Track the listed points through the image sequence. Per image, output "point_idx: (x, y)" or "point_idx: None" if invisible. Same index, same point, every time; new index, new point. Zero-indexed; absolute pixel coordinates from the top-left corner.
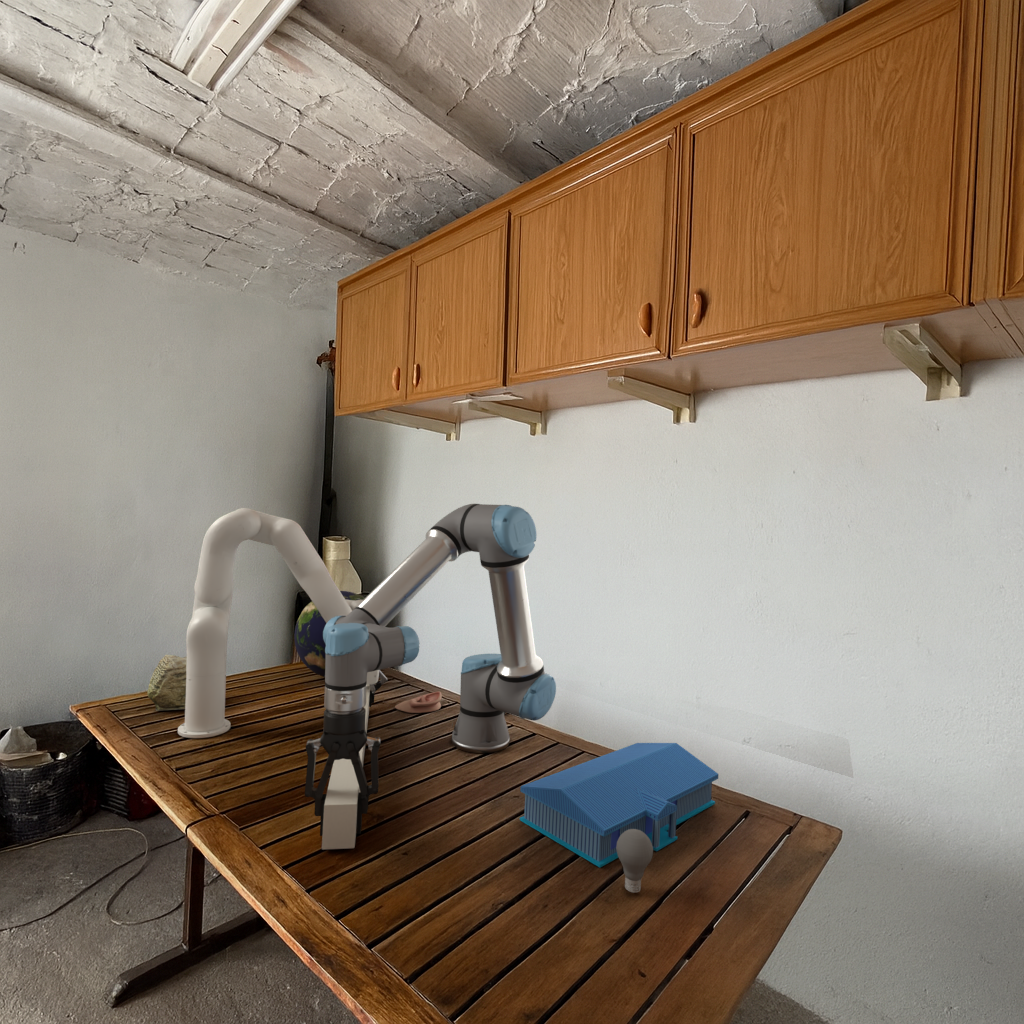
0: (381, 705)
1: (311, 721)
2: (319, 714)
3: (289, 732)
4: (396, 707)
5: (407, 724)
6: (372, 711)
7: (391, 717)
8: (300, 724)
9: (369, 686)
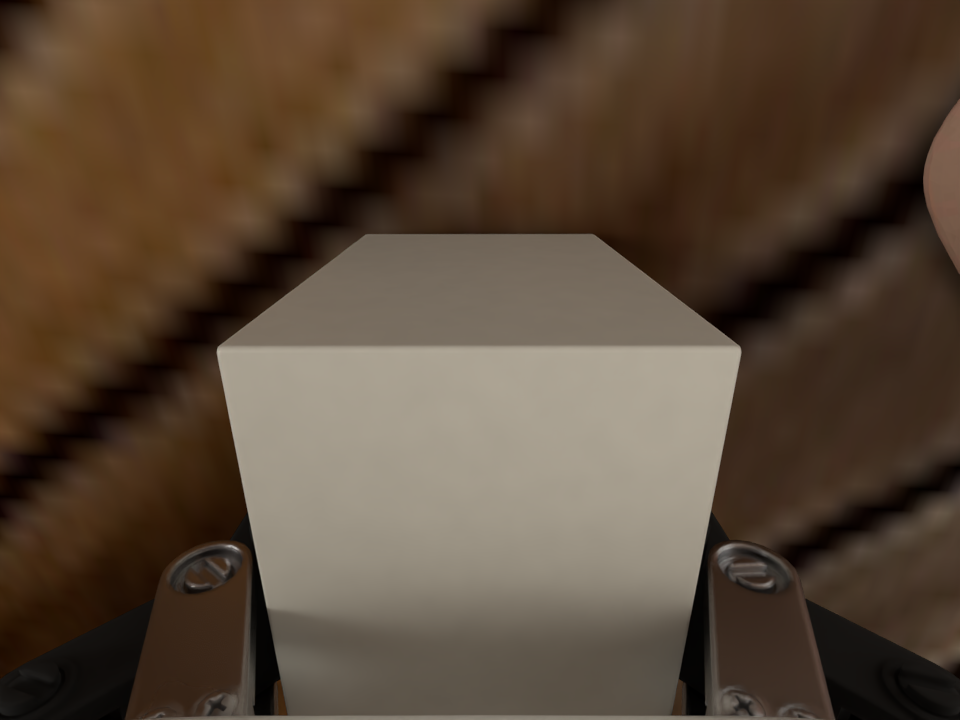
0: (771, 6)
1: (77, 484)
2: (74, 311)
3: (13, 666)
4: (940, 204)
5: (894, 595)
6: (630, 249)
7: (799, 437)
8: (16, 540)
9: (677, 629)
